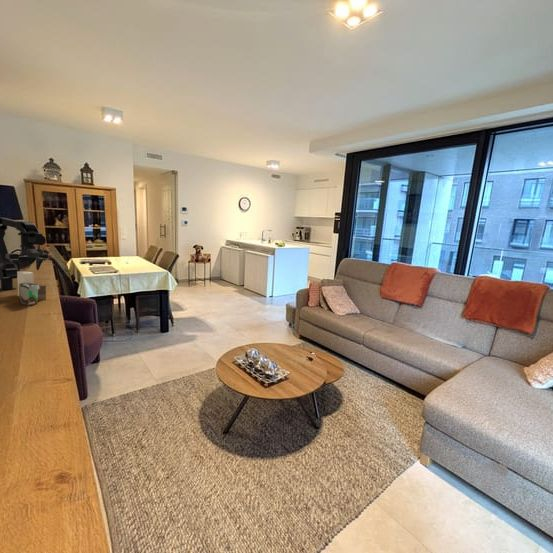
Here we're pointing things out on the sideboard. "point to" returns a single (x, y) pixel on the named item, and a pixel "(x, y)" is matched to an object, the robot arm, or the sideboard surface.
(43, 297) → the dispenser
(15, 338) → the sideboard surface
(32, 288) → the food container
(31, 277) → the white upright block
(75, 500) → the sideboard surface
